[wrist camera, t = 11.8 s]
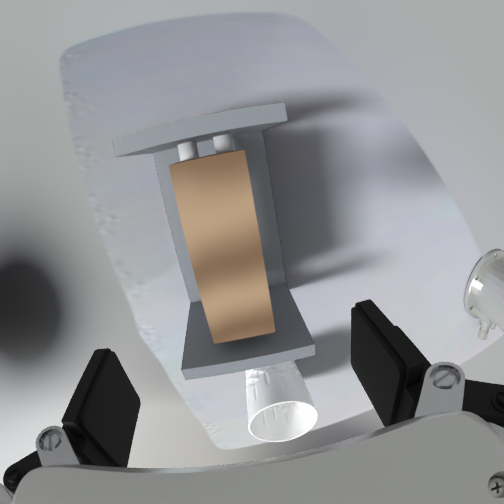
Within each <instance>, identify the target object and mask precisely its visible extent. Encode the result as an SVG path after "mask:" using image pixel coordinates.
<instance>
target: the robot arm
mask: <svg viewBox="0 0 504 504" xmlns="http://www.w3.org/2000/svg"><path fill="white" fill-rule="evenodd" d="M464 304H465V309H466V311H467V313H468V314H469V315H470V316H472V317H473V318H480V319H481V320H480V323H481V327H480V330H479V333H478V338H479V339H480V340H485V339H486V338H487V334H488V331H489V328H490V329H494V328H495V326H496V325H497V326H498V327H499V328H501V329H502V330H503V331H504V251H502V250H500V249H494V250H491V251H490V252H488V253H487V254H486V255H484V256H483V257H482V259H481V260H480V261H479V262H478V264H477V265H476V267H475V268H474V270H473V272H472V274H471V276H470V278H469V281H468V284H467V287H466V291H465V298H464ZM351 365H352V368H353V370H354V371H355V373H356V375H357V377H358V379H359V380H360V382H361V384H362V386H363V388H364V390H365V391H366V393H367V395H368V397H369V399H370V401H371V402H372V404H373V406H374V408H375V410H376V412H377V413H378V415H379V417H380V419H381V421H382V423H383V425H384V426H385V428H382V429H379V430H376V431H374V432H370V433H367V434H364V435H361V436H358V437H355V438H351V439H348V440H345V441H341V442H338V443H334V444H331V445H327V446H324V447H320V448H316V449H312V450H308V451H303V452H299V453H294V454H290V455H285V456H280V457H274V458H269V459H263V460H257V461H250V462H244V463H235V464H227V465H217V466H206V467H190V468H162V469H161V468H158V469H157V468H153V469H152V468H150V469H149V468H127V465H128V460H129V455H130V450H131V445H132V440H133V435H134V431H135V427H136V422H137V418H138V413H139V409H140V398H139V396H138V394H137V393H136V391H135V389H134V387H133V386H132V384H131V382H130V380H129V378H128V377H127V375H126V373H125V371H124V369H123V367H122V365H121V363H120V361H119V360H118V357H117V356H116V354H115V352H112V351H111V350H110V349H108V348H107V349H97V350H95V351H94V353H93V355H92V357H91V359H90V361H89V363H88V365H87V367H86V369H85V371H84V373H83V375H82V377H81V379H80V381H79V384H78V385H77V388H76V390H75V392H74V394H73V396H72V398H71V400H70V403H69V405H68V407H67V409H66V412H65V414H64V416H63V418H62V423H63V427H62V428H61V427H58V426H50V427H47V428H46V429H44V430H43V431H42V432H41V433H40V434H39V435H38V437H37V439H36V448H37V451H35V452H33V453H31V454H30V455H28V456H26V457H25V458H23V459H21V460H20V461H18V462H16V463H14V464H13V465H11V466H10V467H8V468H7V470H6V471H5V474H4V477H3V482H4V485H2V484H0V504H504V385H499V384H491V383H485V382H479V381H472V380H466V379H465V374H464V372H463V370H462V369H461V368H460V367H459V366H458V365H456V364H454V363H450V362H439V363H435V364H433V365H431V364H430V363H429V361H428V360H427V359H426V358H425V357H424V355H423V354H422V353H421V352H420V351H419V350H418V348H417V347H416V346H415V345H414V344H413V343H412V342H411V340H410V339H409V338H408V337H407V336H406V335H405V333H404V332H403V331H402V330H401V329H400V328H399V327H398V326H394V325H393V324H392V323H391V322H390V321H389V319H388V318H387V317H386V316H385V315H384V314H383V313H382V312H381V310H380V309H379V308H378V307H377V306H376V305H375V304H374V303H373V301H372V300H370V299H369V300H365V301H361V302H358V303H356V304H355V307H353V308H352V309H351Z"/></svg>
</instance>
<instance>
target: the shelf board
mask: <svg viewBox="0 0 504 504" xmlns="http://www.w3.org/2000/svg"><path fill="white" fill-rule="evenodd" d="M169 170H170V175H171V179H172V184H173V189H174V193H175V198H176V202H177V207H178V211H179V215H180V219H181V224H182V228H183V232H184V236H185V240H186V244H187V248H188V252H189V256H190V260H191V264H192V267H193V271H194V275H195V279H196V282H197V286H198V290H199V293H200V297H201V301H202V304H203V308H204V311H205V315H206V318H207V321H208V325H209V328H210V332H211V335H212V338H213V341H214V344H216V343H222V342H227V341H233V340H238V339H244V338H249V337H254V336H259V335H264V334H268V333H273V332H276V331H275V325H274V319H273V312H272V306H271V300H270V294H269V288H268V282H267V276H266V270H265V264H264V258H263V253H262V247H261V241H260V235H259V229H258V223H257V217H256V212H255V206H254V200H253V194H252V189H251V183H250V177H249V172H248V166H247V160H246V155H245V150H234V151H229V152H223V153H218V154H213V155H208V156H203V157H199V158H194V159H190V160H185V161H181V162H177V163H174V164H171V165H169Z"/></svg>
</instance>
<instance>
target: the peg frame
mask: <svg viewBox="0 0 504 504" xmlns="http://www.w3.org/2000/svg"><path fill="white" fill-rule="evenodd" d="M286 121H288V120H287V114H286V109H285V103H276V104H268V105H260V106H253V107H247V108H240V109H234V110H229V111H223V112H218V113H212V114H207V115H202V116H198V117H193V118H188V119H184V120H180V121H176V122H171V123H167V124H163V125H159V126H156V127H152V128H148V129H145V130H141V131H138V132H134V133H131V134H127V135H124V136H121V137H118V138H115V139H112V144H113V149H114V154H115V157H122V156H130V155H140V154H150V153H153V156H154V161H155V166H156V170H157V175H158V180H159V184H160V189H161V193H162V197H163V202H164V206H165V210H166V214H167V218H168V222H169V226H170V230H171V234H172V238H173V242H174V246H175V250H176V253H177V257H178V261H179V264H180V268H181V272H182V275H183V279H184V282H185V286H186V289H187V292H188V296H189V299H190V310H189V317H188V323H187V330H186V337H185V345H184V352H183V360H182V368H181V370H182V373H183V375H184V377H185V380H189V379H196V378H203V377H210V376H217V375H223V374H229V373H235V372H240V371H246V370H251V369H256V368H261V367H266V366H271V365H275V364H280V363H285V362H289V361H293V360H298V359H302V358H306V357H310V356H314V355H316V354H315V344H314V341H313V339H312V337H311V335H310V333H309V331H308V329H307V327H306V324H305V322H304V320H303V318H302V316H301V314H300V312H299V310H298V308H297V305H296V303H295V301H294V299H293V297H292V295H291V293H290V291H289V289H288V287H287V285H286V279H285V272H284V265H283V258H282V251H281V244H280V237H279V231H278V224H277V217H276V211H275V205H274V198H273V192H272V186H271V180H270V174H269V168H268V162H267V156H266V150H265V144H264V138H263V133H262V131H263V130H265V129H268V128H270V127H273V126H275V125H278V124H280V123H283V122H286ZM234 150H245V155H246V160H247V166H248V172H249V177H250V183H251V189H252V194H253V200H254V206H255V212H256V217H257V223H258V229H259V235H260V241H261V247H262V253H263V258H264V264H265V270H266V276H267V282H268V288H269V294H270V300H271V306H272V312H273V319H274V325H275V331H276V332H273V333H268V334H264V335H259V336H254V337H249V338H244V339H238V340H233V341H227V342H222V343H216V344H214V341H213V338H212V335H211V332H210V328H209V325H208V321H207V318H206V315H205V311H204V308H203V304H202V301H201V297H200V293H199V290H198V286H197V282H196V279H195V275H194V271H193V267H192V264H191V260H190V256H189V252H188V248H187V244H186V240H185V236H184V232H183V228H182V224H181V219H180V215H179V211H178V207H177V202H176V198H175V193H174V189H173V184H172V179H171V175H170V170H169V165H171V164H174V163H177V162H181V161H185V160H190V159H194V158H199V157H203V156H208V155H213V154H218V153H223V152H229V151H234Z"/></svg>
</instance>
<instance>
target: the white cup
mask: <svg viewBox="0 0 504 504" xmlns="http://www.w3.org/2000/svg"><path fill="white" fill-rule="evenodd" d="M246 400H247V413H248V427H249V431H250V433H251V434H252V435H253V436H254V437H256V438H257V439H260V440H263V441H268V442H282V441H287V440H291V439H294V438H297V437H299V436H301V435H303V434H305V433H306V432H308V431H309V430H310V429H311V428H312V427H313V426H314V425H315V423H316V422H317V419H318V412H317V409H316V407H315V405H314V403H313V400H312V398H311V396H310V393H309V391H308V389H307V386H306V384H305V382H304V380H303V378H302V375H301V373H300V372H299V370H298V368H297V366H296V363H295V361H294V360H293V361H289V362H285V363H280V364H275V365H271V366H266V367H261V368H256V369H251V370H246Z"/></svg>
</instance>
